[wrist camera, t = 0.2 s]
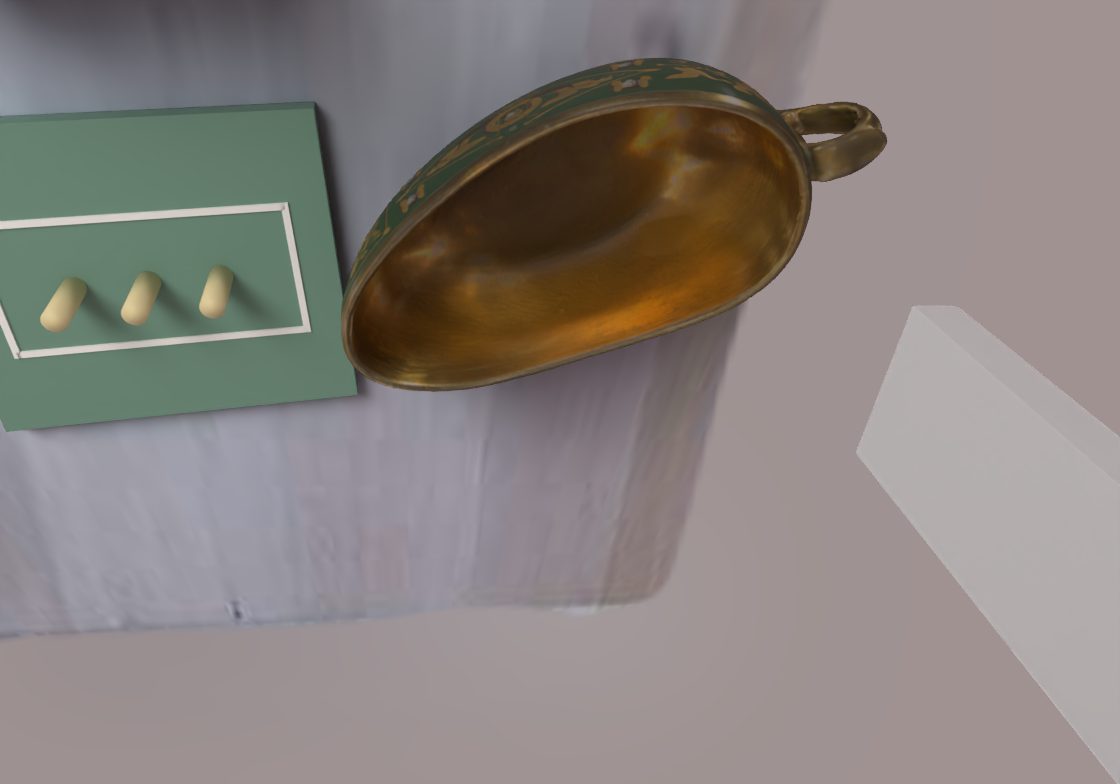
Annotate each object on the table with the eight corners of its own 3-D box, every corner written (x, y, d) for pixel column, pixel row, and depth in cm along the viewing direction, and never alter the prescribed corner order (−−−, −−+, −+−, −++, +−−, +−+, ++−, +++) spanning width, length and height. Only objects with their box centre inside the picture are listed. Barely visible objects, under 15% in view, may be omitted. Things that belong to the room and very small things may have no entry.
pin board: (-118, 121, 32) (-171, 155, 29) (314, 101, 35) (310, 131, 32) (13, 419, 40) (-17, 472, 37) (357, 384, 43) (358, 430, 39)
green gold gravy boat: (737, 303, 45) (822, 411, 36) (347, 306, 40) (342, 428, 32) (796, 43, 38) (917, 104, 29) (332, 15, 33) (321, 76, 25)
